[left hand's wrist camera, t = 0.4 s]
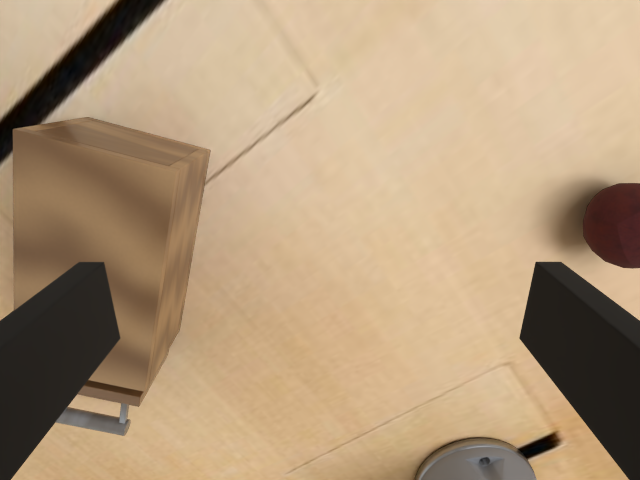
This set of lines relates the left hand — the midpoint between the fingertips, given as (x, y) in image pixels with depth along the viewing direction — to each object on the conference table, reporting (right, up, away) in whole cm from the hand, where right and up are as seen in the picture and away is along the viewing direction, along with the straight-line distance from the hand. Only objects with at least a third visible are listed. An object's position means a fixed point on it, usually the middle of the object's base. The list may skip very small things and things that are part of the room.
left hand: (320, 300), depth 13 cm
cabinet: (-18, +2, +28) cm, 34 cm away
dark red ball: (+28, +5, +27) cm, 40 cm away
